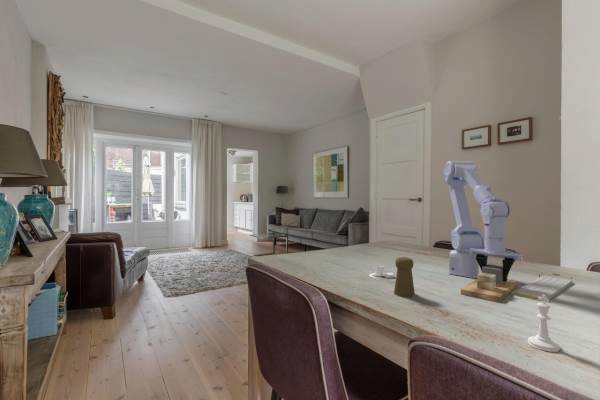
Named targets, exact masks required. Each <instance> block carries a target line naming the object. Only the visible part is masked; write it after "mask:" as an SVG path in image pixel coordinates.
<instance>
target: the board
mask: <svg viewBox="0 0 600 400" xmlns="http://www.w3.org/2000/svg"><path fill="white" fill-rule="evenodd" d="M517 287H518V281H515V280H509V279H507V281H506V282H505V283H504V284H502V285H501V286H496V288H495V289H494V290H493V291H491V290H486V289H481V288H477V279H475V280H474V281H472V282H470V283H469V284H467V285H465V286H463V287H462V288H460V294H461V295H463V296H469V297H472V298H473V297H474V298H478V299H482V300H486V301H491V302H495V303H501V302H502V301H503V300H504V299H506V297H507V296H509V294H511V293H512V292H513V291H515V290H516V288H517Z"/></svg>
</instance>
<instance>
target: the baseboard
mask: <svg viewBox="0 0 600 400" xmlns="http://www.w3.org/2000/svg"><path fill="white" fill-rule="evenodd" d="M543 274H544V276H541V274H540V273H539V274H538V278H536V279H534V280H532V281H530V282H528V283H527V284H525V285H524V286H521V287H519V288H517V289H514V290H512V291H511V292H510V295H514V296H519V297H523V298H528V299H531V300H536V301H540V302H542V300H539V299H538V297H542V295H546V297H545V298H546V299H549V300H551V299H552V298H554V297H556V295H559V293H561V292H562V291H564V290H565V289H566V288H568V287H569V286H571V285H572V284H573V280H572V279H573V277H570V279H569V277H566V278H568V279H565V278H562V276H561V274H558V273H552V274H548V275H551V276H547V275H545V273H543V272H542V275H543ZM554 276H555V277H554ZM556 276H558V277H556ZM559 277H561V278H559ZM545 303H546V301H545Z"/></svg>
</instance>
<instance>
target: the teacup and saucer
mask: <svg viewBox="0 0 600 400" xmlns="http://www.w3.org/2000/svg"><path fill="white" fill-rule="evenodd" d="M372 270H373V272H372V273H370V274H369V275H368V276H369V277H370V278H374V279H377V280H378V279H380V280H386V279H391V278H394V277H395V273H394V272H386V273H385V265H381V264H380V265H375V266H373V267H372ZM373 275H376V276H373Z"/></svg>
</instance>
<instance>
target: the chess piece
mask: <svg viewBox="0 0 600 400" xmlns="http://www.w3.org/2000/svg"><path fill="white" fill-rule="evenodd" d="M545 297H546V295H542V297H538V299H539V300H538V301H540V300H542V301H541V302H538V303H537V304H536V306H537V309H538V312H539V313H537V315H536V318H538V319H539V327H538V333H537V334H536V335H533V336H531V335H530V336H529V337H528V338H527V344H528V345H530V346H531V347H533V348H535V349H537V350H540V351H545V352H549V353H557V352H560V351H561V347H560V344H558V342H556V341H554V340H553V339H552V338H551V337H550V336H549V329H548V321H550V320H551V317H550V316H548V313H549V310H550V308H551V305H550V304H548V303H549V302H550V299H546V298H545ZM545 301H546V302H547V303H546V302H545ZM559 350H560V351H559Z"/></svg>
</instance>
